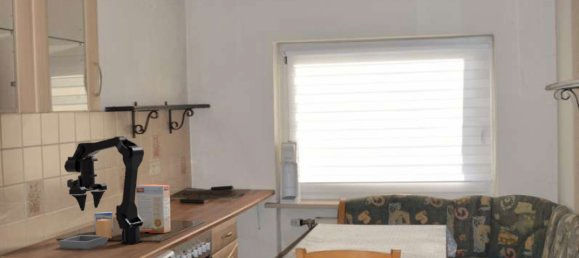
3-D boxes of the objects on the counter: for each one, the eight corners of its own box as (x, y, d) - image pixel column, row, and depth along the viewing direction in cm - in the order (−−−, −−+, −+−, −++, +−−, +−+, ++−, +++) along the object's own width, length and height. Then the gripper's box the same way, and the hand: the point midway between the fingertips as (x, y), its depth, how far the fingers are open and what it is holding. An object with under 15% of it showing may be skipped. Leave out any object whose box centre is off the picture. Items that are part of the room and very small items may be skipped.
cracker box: (171, 231, 314) (170, 184, 314) (164, 233, 309) (162, 185, 308) (144, 230, 320) (143, 183, 319) (136, 232, 314) (135, 185, 313)
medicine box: (94, 233, 315) (94, 213, 314) (94, 231, 319) (94, 212, 319) (113, 231, 317) (112, 212, 317) (112, 230, 321) (112, 211, 321)
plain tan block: (111, 238, 301) (111, 219, 301) (105, 240, 297) (104, 220, 297) (102, 237, 303) (102, 218, 303) (96, 239, 299) (95, 220, 298)
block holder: (107, 243, 288) (107, 236, 288) (87, 249, 276) (86, 242, 276) (80, 242, 293) (80, 234, 293) (59, 248, 281) (59, 240, 281)
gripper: (85, 170, 310) (87, 206, 311) (57, 174, 293) (59, 212, 293) (106, 170, 307) (108, 206, 307) (79, 174, 289) (81, 212, 289)
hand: (89, 209), depth 299 cm, fingers open, 9 cm apart
